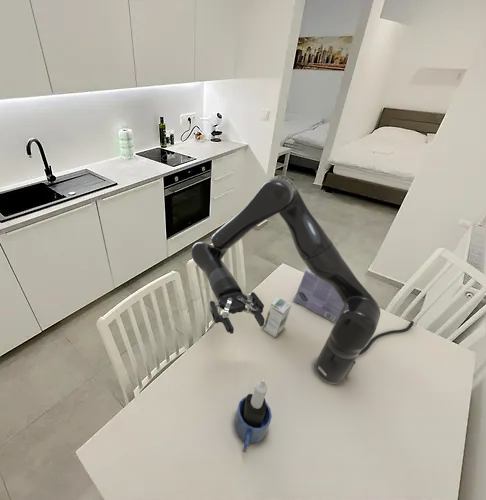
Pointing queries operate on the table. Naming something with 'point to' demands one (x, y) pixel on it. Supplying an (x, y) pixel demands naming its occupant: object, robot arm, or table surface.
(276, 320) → the syrup box
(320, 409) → the table surface
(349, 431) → the table surface
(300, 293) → the cake pan box
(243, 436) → the mug
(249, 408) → the candle
